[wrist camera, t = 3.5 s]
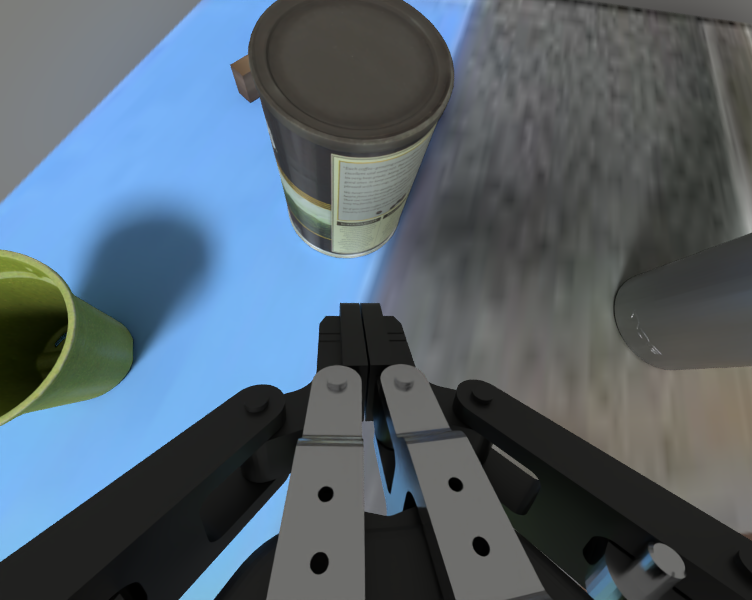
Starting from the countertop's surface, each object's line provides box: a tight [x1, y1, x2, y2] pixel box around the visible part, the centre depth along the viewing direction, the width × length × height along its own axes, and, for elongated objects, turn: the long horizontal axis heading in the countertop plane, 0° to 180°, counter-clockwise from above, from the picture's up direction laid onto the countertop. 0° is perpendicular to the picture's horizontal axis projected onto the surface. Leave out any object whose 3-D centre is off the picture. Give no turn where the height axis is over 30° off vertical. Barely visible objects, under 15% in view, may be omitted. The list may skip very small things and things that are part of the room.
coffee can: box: [248, 0, 454, 258], centre depth 23 cm, size 10×10×14 cm
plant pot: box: [0, 250, 133, 426], centre depth 20 cm, size 9×9×9 cm
